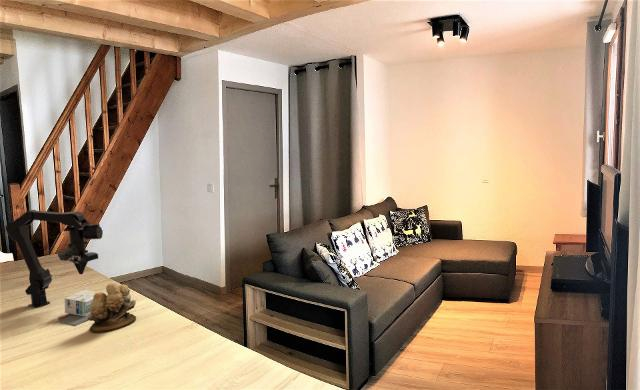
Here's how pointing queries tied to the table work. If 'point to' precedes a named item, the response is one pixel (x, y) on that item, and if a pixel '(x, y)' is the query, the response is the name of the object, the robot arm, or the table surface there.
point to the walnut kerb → (64, 316)
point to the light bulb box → (79, 303)
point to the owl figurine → (111, 309)
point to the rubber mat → (74, 319)
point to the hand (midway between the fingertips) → (81, 274)
